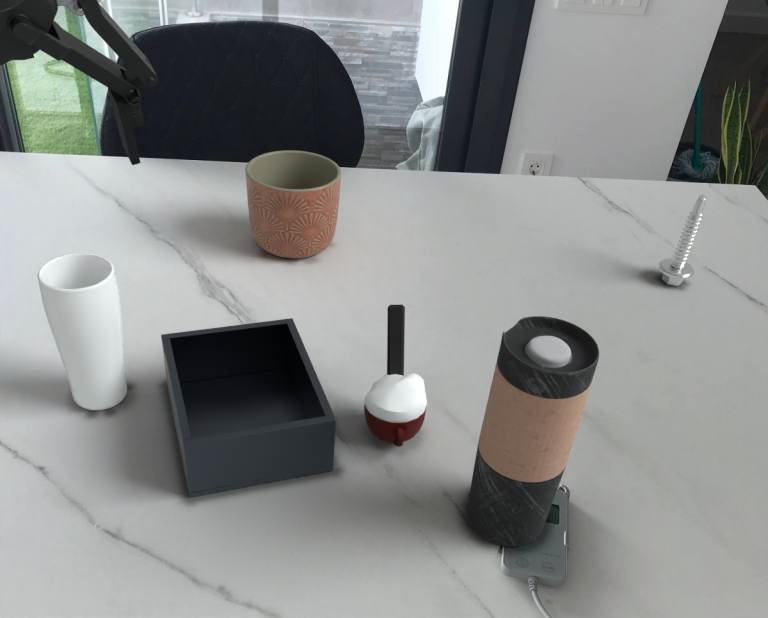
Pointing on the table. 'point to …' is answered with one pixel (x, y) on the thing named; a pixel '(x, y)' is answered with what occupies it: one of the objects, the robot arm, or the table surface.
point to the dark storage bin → (247, 406)
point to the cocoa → (396, 390)
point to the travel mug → (529, 427)
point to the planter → (293, 202)
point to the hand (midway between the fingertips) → (54, 175)
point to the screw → (683, 248)
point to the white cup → (86, 326)
